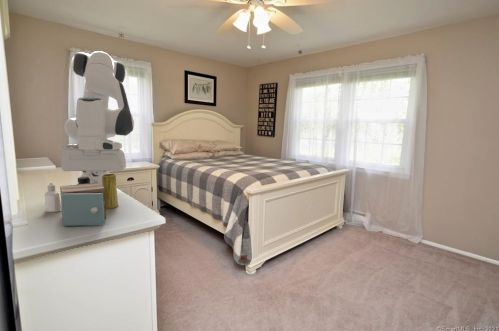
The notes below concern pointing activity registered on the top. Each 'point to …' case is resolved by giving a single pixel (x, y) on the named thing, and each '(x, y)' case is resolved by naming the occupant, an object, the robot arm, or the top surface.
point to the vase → (110, 190)
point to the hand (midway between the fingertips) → (95, 183)
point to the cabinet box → (85, 190)
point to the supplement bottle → (83, 180)
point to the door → (82, 209)
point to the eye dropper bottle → (52, 199)
